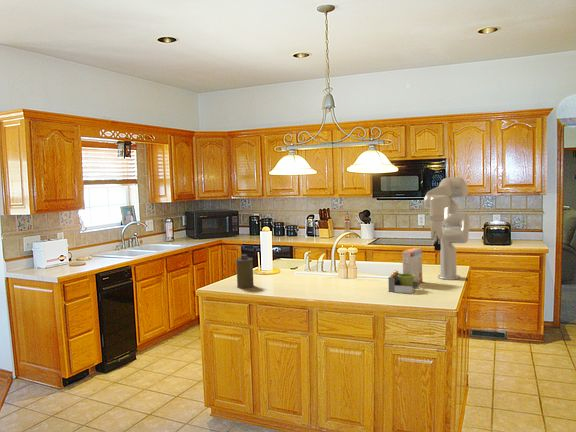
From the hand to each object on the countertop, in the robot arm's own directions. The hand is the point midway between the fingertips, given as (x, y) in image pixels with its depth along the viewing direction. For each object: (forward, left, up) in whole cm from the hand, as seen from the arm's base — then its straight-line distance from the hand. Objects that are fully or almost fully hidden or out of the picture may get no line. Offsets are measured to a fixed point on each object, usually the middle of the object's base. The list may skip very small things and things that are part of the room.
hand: (437, 250), depth 267 cm
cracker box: (-9, -16, -23) cm, 29 cm away
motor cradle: (+8, -18, -22) cm, 30 cm away
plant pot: (+8, -16, -23) cm, 29 cm away
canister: (+31, -110, -23) cm, 117 cm away
